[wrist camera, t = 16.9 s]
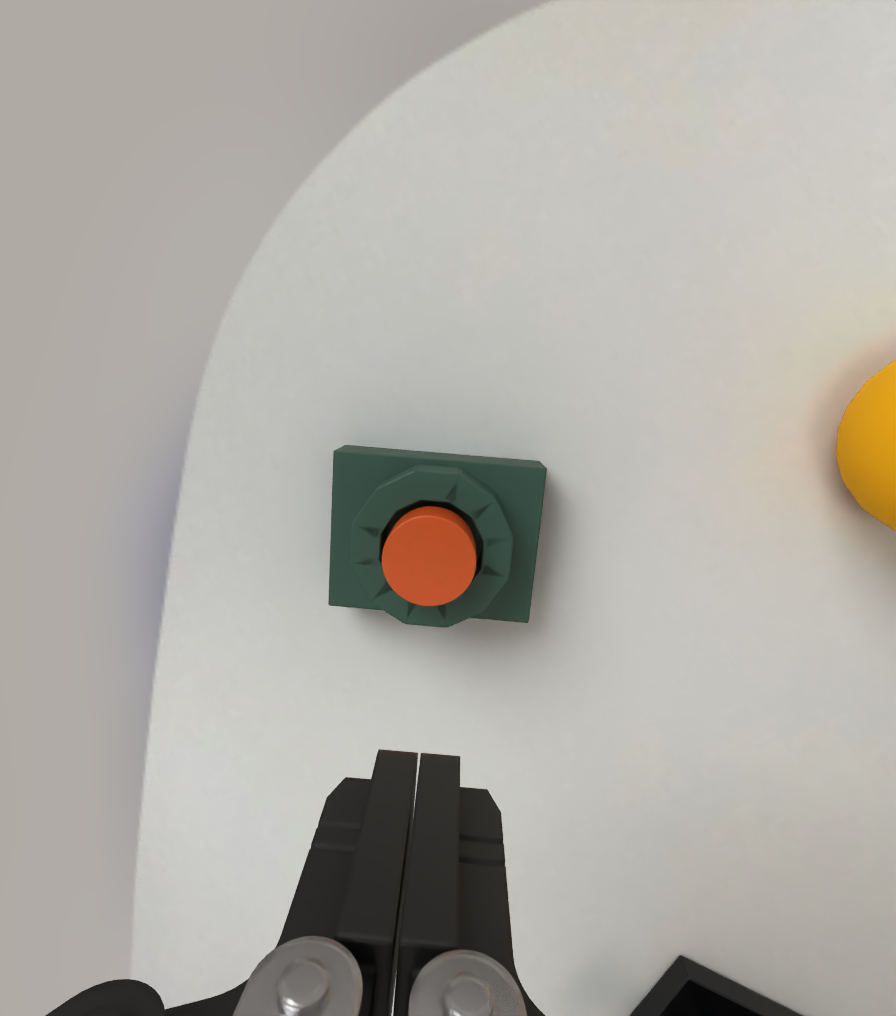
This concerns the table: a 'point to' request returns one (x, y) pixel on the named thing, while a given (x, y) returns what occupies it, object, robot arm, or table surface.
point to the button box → (448, 484)
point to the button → (429, 556)
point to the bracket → (704, 995)
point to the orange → (871, 446)
